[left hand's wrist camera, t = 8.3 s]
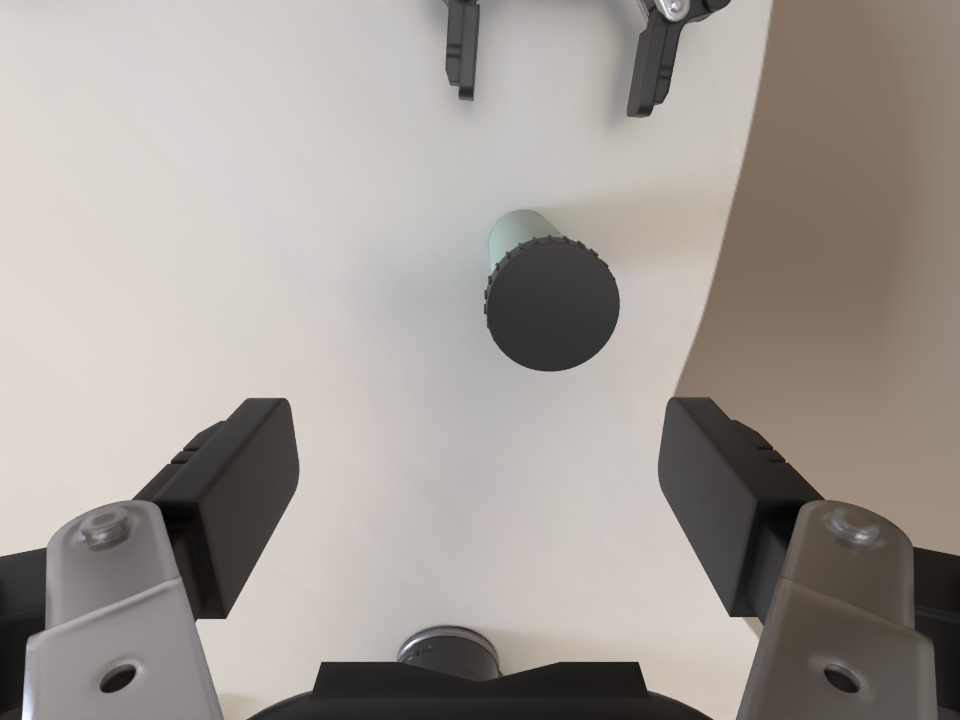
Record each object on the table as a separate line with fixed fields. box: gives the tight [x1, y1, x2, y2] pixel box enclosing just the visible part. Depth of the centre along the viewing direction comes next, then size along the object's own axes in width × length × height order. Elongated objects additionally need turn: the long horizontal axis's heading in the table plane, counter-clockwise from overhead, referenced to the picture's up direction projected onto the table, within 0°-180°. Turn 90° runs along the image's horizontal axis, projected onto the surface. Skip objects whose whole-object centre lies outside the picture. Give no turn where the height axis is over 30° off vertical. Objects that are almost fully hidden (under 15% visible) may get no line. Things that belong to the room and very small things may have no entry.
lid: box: [484, 235, 620, 371], centre depth 20 cm, size 5×5×2 cm
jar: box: [489, 210, 563, 275], centre depth 27 cm, size 4×4×15 cm
